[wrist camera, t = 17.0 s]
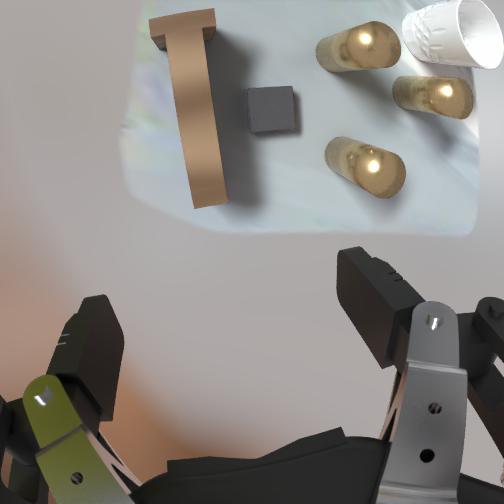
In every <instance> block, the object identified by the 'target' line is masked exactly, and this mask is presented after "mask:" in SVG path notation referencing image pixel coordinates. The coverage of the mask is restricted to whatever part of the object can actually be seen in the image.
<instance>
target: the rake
mask: <svg viewBox="0 0 504 504" xmlns="http://www.w3.org/2000/svg"><path fill="white" fill-rule="evenodd" d="M149 27H150V35H151V38H152V40H153V41H154V43H155V44H156V45H157V47H158V48H159V49H164V48H167V53H168V60H169V67H170V74H171V80H172V87H173V93H174V100H175V106H176V112H177V118H178V124H179V130H180V136H181V141H182V147H183V153H184V158H185V164H186V169H187V174H188V180H189V185H190V190H191V195H192V200H193V205H194V209H197V208H202V207H207V206H212V205H218V204H223V203H228V201H227V194H226V188H225V182H224V175H223V169H222V162H221V156H220V149H219V143H218V136H217V130H216V123H215V116H214V110H213V103H212V96H211V89H210V82H209V75H208V68H207V61H206V54H205V47H204V41H209V40H212V39H213V36H214V32H215V29H216V19H215V12H214V8H212V9H204V10H197V11H191V12H184V13H179V14H173V15H168V16H163V17H158V18H154V19H149Z"/></svg>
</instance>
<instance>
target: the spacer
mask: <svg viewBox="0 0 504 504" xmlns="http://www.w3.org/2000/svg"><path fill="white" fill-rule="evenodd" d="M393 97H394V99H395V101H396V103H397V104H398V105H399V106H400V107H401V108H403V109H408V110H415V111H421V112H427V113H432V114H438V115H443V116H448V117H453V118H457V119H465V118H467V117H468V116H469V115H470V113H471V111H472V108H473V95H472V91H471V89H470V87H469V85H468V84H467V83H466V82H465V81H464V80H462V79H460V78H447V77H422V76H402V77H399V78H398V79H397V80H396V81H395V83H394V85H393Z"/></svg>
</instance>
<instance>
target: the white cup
mask: <svg viewBox="0 0 504 504" xmlns="http://www.w3.org/2000/svg"><path fill="white" fill-rule="evenodd" d="M402 34H403V38H404V42H405V44H406V45H407V47H408V48H409V50H410V52H411V53H412V54H413V55H414V56H416V57H417V58H418V59H419V60H421V61H425V62H429V63H440V64H447V65H455V66H466V67H475V68H483V69H495V68H497V67H498V65H500V63H501V61H502V58H503V54H504V42H503V36H502V32H501V29H500V26H499V24H498V21H497V19H496V18H495V16H494V14H493V13H492V11H491V10H490V9H489V8H488V6H487V5H485V4H484V3H483V2H482V1H481V0H448V1H444V2H440V3H436V4H433V5H430V6H427V7H425V8H423V9H421V10H418V11H415V12H411V13H409V14H408V15H407V16H406V17H405V18H404V20H403V24H402Z"/></svg>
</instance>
